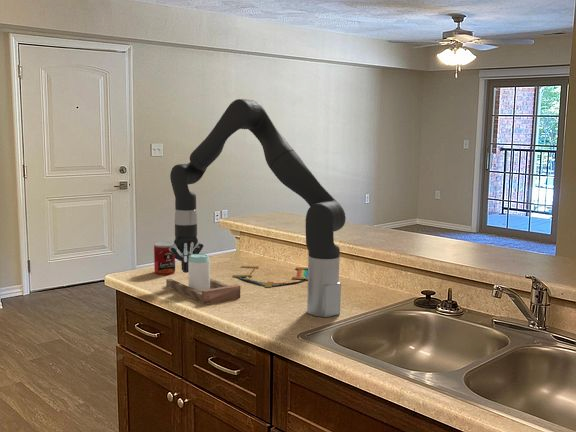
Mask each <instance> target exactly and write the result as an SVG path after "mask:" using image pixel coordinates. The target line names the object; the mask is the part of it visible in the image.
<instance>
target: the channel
mask: <svg viewBox="0 0 576 432" xmlns="http://www.w3.org/2000/svg"><path fill="white" fill-rule="evenodd" d="M165 284H166V287H167V288H169V289H171V290H173V291H176V292H178V293H180V294H183V295H184V296H186V297H189V298H191V299H192V300H195V301H198V302H200V303H202V304H203V305H210V304H214V303H221V302H226V301H230V300H231V301H232V300H235V299H240V298H241V285H239V284H238V283H237V284H236V283H235V284H232V285H228V284H226V283H224V282H221V281H218V280H216V279H214V278H211V277H210V289H207V290H202V292H200V291H197V290H195V289H193V288H191V287H189V285H186V284H184V283H182V282H179V281H177V280H174V279H173V278H166V283H165Z"/></svg>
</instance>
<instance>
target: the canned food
mask: <svg viewBox="0 0 576 432" xmlns="http://www.w3.org/2000/svg"><path fill="white" fill-rule="evenodd" d="M173 244H174V241H173V242H172V241H158V242H155V243H154V244H153V255H154V256H153V261H154V264H153V265H154V273H155V274H156V275H158V276H168V275H173V274H174V273H175V272H176V258H175V257H174V256H173V254H172V253H171V252H170V251H169V250H168V247H171V246H172V245H173Z"/></svg>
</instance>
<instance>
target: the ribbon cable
mask: <svg viewBox="0 0 576 432" xmlns="http://www.w3.org/2000/svg"><path fill="white" fill-rule="evenodd" d="M241 267H242V268H246V269H247V268H249V269H250V268H251V269H253V268H254V269H253V272H254V271H255V269H259V266H257V265H256V266H255V265H254V266H253V265H251V266H250V265H241V266H240V268H241ZM242 268H241V269H242ZM295 271H297V273H296V274H297V275H296V276H292V277H291V280H293V281H294V282H292V283H291V282H288V283H286V282H287V281H285V282H274V281H267V282H264V281H259V282H257V280H252V279H249V280H248V279H245V278H241V277H247V276H249V277H250V278H252V274H250V275H248V274H233V275H232V278H237V279H239V280H244V281H245V282H249V283H252V284H256V285H259V286H262V287H264V288H265V289H272V288H273V287H278V286H284V285H285V286H286V285H290V284H297V280H299V281H298V283H303V282H306V281H308V267H298V266H296V267H295ZM238 277H239V278H238ZM304 277H305V278H304ZM304 279H305V280H304ZM251 280H252V281H251ZM295 280H296V281H295ZM283 283H284V284H283Z"/></svg>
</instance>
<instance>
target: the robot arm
mask: <svg viewBox="0 0 576 432" xmlns="http://www.w3.org/2000/svg"><path fill="white" fill-rule="evenodd" d="M239 130H248V131H250V133H252V135H254V136H255V138H256V139H257V140H258V142H259V143H260V145H261V147H262V150H263V154H264V158H265V161H266V165H267V167H268V168H269V169H270V170H271V172H272V173H273V174H274V176H275V177H276V178H277V180H278V181H279V182H280V183H281V184H282V185H284V186H285V187H286V188H288V189H289V190H290V191H292V192H294V193H295V194H297V195H298V196H299V197H300V198H302V200H304V201H305V202H306V204H308V206H309V208H307V211H306V214H305V244H306V248H307V250H308V253H307V256H308V258H307V260H308V263H307V268H308V280H307V303H306V304H307V305H306V306H307V307H306V308H307V309H306V312H307V313H308V314H309V315H311V316H315V317H323V318H329V317H333V316H338V315H341V301H342V300H341V297H342V295H341V294H342V283H341V282H340V281H339V280H340V256H341V255H340V254H341V251H340V250H341V248H340V247H339V246H338V245H336V243H335V242H334V240H335V239H334V238H335V237H334V232H337V231H339V230H341V229H343V227H344V226H345V224H346V220H347V218H346V213H345V209H344V208H343V206H342V205H341V204H340V203H339V202H338V201H337V199H335V198H334V197H333V196H332V195H331V194H330V193H329V192H328V190H327V189H326V188H325V187H324V186H323V185H322V184H321V183H320V181H319V180H318V179H317V177H316V176H315V175H314V174H313V173H312V171H311V170H310V169H309V167H308V166H307V165H306V164H305V163H304V161H303V159H302V158H301V157H300V156H299V154H298V153H297V152H296V150H294V148H293V147H292V146H291V145H290V143H289V142H288V141H287V140H286V138H285V137H284V136H283V135H282V134H281V132H280V131H279V130H278V128H277V127H276V125H274V122H273V121H272V119H271V118H270V116H269V115H268V112H267V111H266V109H265V108H264V107H263V105H262V104H261V103H259V102H258V101H257V100H253V99H247V98H238V99H235V100H233V101H232V102H230V103H229V105H228V106H227V108H226V109H225V111H224V112H223V113H222V115H221V117H220V118H219V120H217V122H216V124H215V126H214V127H213V128H212V129H211V131H210V132H209V133H208V135H207V136H206V137H205V138H204V139H203V140H202V142H200V144H199V145H197V147H196V148H195V149H194V150H193V151H192V152H191V153H190V156H189V162H188V163H179V164H175V165H174V166H172V168H171V171H170V174H169V175H170V176H169V177H170V182H171V187H172V192H173V194H174V198H175V200H174V201H175V202H174V203H175V204H174V206H175V208H174V209H175V211H174V236H175V237H174V241H173V243H174V244H173V245H172V246H171V247H168V250H169V251H170V252H171V253H172V254H173V256H174V257H175V260H177V261H180V262H181V271H182V272H183V273H187V274H188V273H189V271H188V261H189V259H190V256H191V255H193V254H201V252H202V249H204V243H203V244H202V243H201V242H199V240H198V237H197V236H198V214H197V195H196V193H195V192H194V191H190V189H189V185H194V184H196V183H198V182H199V181H201V179H202V178H203V176H204V174H205V173H206V171H207V169H208V167H209V166H210V165H212V163H214V162H215V161H216V159H218V157H219V156H220V155H221V153H222V152H223V149H224V147H225V144H226V142H227V141H228V139H229V138H231V136H232V135H233V134H235V133H236V132H237V131H239ZM178 251H179V252H178Z"/></svg>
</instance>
